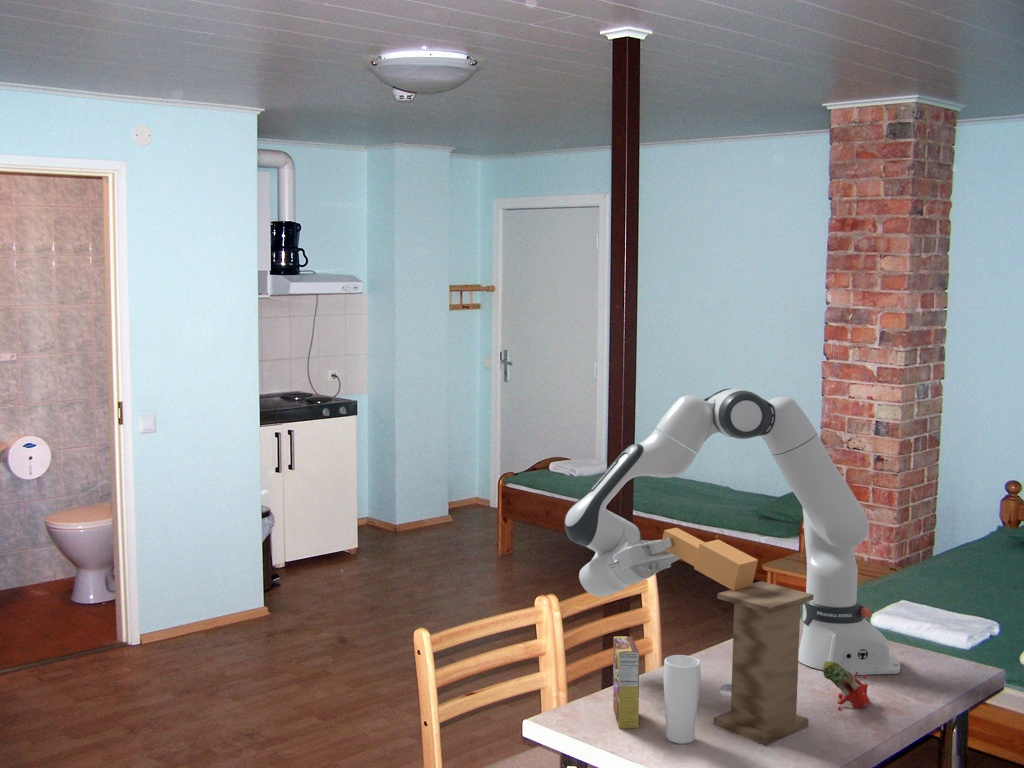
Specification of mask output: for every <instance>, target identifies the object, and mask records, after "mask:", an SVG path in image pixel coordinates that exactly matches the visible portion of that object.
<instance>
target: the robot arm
mask: <svg viewBox="0 0 1024 768" xmlns="http://www.w3.org/2000/svg"><path fill="white" fill-rule="evenodd" d="M718 433H720V434H722V435H724V436H726V437H729V438H730V437H731V438H735V439H740V440H743V439H745V440H746V439H753V438H755V437H760V438H762V440H763V441H764V442H765V444H766V445H767V447H768V449H769V452H770V453H771V455H772V457H773V459H774V460H775V462H776V464H777V467H778V468H779V470H780V472H781V474H782V476H783V478H784V480H785V481H786V483H787V485H788V486H789V488H790V489H791V491H792V492H793V494H794V495H795V497H796V499H797V500H798V502H799V503H800V505H801V506H802V514H803V516H802V517H803V532H804V533H803V534H804V546H805V547H804V548H805V555H806V582H805V586H806V587H805V588H806V589H805V593H809V594H813V595H814V597H813V600H811V601H808V602H805V603H802V623H803V626H802V633H801V639H800V642H799V656H798V662H799V663H801V664H803V665H805V666H808V667H810V668H813V669H816V670H820V671H823V666H824V663H825V662H827V661H830V662H835V663H837V664H839V665H840V666H841V667H842V668H843V669H844V670H847V671H849V672H850V673H851V674H852V675H855V674H856V672H858V674H857V675H856V676H858V675H861V676H864V675H865V676H868V675H896V674H899V673H900V672H901V664H900V662H899V660H898V659H897V658H896V656H894V655H892V654H891V651H890V645H889V642H888V640H887V638H886V636H885V635H884V633H882V632H881V631H880V630H878V628H876V627H875V626H874V625H872V624H871V623H870V622H869V621H867V620H866V619H869V618H870V617H871V616H872V611H871V610H870V609H869V608H868V607H865V605H863V604H862V603H860V602H859V601H858V600H857V599H858V598H857V596H858V595H857V594H858V574H859V573H858V572H859V571H858V564H857V562H856V561H857V560H856V555H855V547H857V546H860V545H861V544H862V543H863V542H864V541H865V540H866V538H867V536H868V534H869V530H870V525H869V520H868V516H867V515H866V512H865V511H864V509H863V508H862V506H861V504H860V503H859V500H858V499H857V498H856V496H855V494H854V493H853V491H852V489H851V488H850V486H849V485H848V483H847V482H846V480H845V479H844V478H845V477H843V476H842V474H841V473H840V471H839V469H838V468H837V467H836V465H835V463H834V462H833V460H832V458H831V457H830V455H829V453H828V451H827V449H826V446H825V445H824V444H823V442H822V440H821V438H820V436H819V434H818V432H817V430H816V429H815V427H814V426H813V423H812V422H811V421H810V419H809V417H808V416H807V414H806V413H805V412H804V411H803V409H802V408H801V406H800V405H799V404H798V403H797V402H796V401H795V400H794V399H793V398H791V397H789V396H777V397H776V396H775V397H774V398H772V399H769V400H766V399H764V398H762V397H761V396H760V395H758V394H756V393H755V392H752V391H748V390H746V389H744V388H737V387H736V388H735V387H734V388H724V389H722V390H719V391H716V392H715V393H714V394H712V395H710V396H708V397H706V398H704V399H703V398H701V397H699V396H697V395H690V394H689V395H683V396H680V397H679V398H678V399H676V401H675V402H674V403H673V404H672V405H671V406H670V408H669V409H668V410H667V411H666V413H665V414H664V415H663V416H662V418H661V419H660V420H659V422H658V423H657V425H656V427H655V428H654V430H653V431H652V433H651V434H649V436H648V437H646V438H645V439H644V440H642V441H641V442H639V443H633V444H630V445H628V446H627V448H625V449H624V450H623V451H622V452H621V453H620V454H619V455H618V456H617V458H615V459H614V461H613V462H612V463H611V464H610V465H609V466H608V467H607V468H606V470H605V471H603V473H602V474H601V476H599V478H597V480H596V481H595V482H594V484H592V486H591V487H590V488H589V489H588V490H587V491H586V493H585V494H583V496H581V498H579V499H578V500H577V501H576V502H575V503H573V504H572V505H571V507H570V508H569V509H568V510H567V513H565V516H564V522H563V523H564V528H565V533H566V535H567V537H568V539H569V540H570V541H571V542H573V543H575V544H578V545H579V546H582V547H585V548H587V549H589V550H591V551H593V552H595V553H594V555H593V557H592V558H591V560H590V561H589V562H588V563H586V564H584V566H582V568H581V569H580V570H579V574H578V579H579V581H580V584H581V586H582V587H583V589H584V591H586V592H587V593H588V594H590V595H592V596H594V597H598V598H602V597H607V596H612V595H614V594H616V593H618V592H621V591H623V590H625V589H626V588H627V587H628V586H633V585H634V586H635V585H637V584H638V583H639V584H640V582H643V581H646V580H647V579H649V578H651V577H653V576H655V575H656V574H657V573H660V572H661V571H664V570H666V569H669V568H670V567H672V565H671V564H673V563H675V562H677V561H679V560H681V559H680V558H678V557H676V556H674V555H673V554H671V553H669V552H667V551H665V549H668V548H671V547H673V546H674V545H675V543H674V540H673V538H667V539H665V540H663V541H662V539H654V540H646V539H642V535H641V531H640V529H639V527H638V526H637V525H636V524H635V523H633V522H631V521H629V520H627V519H625V518H624V517H622V516H620V515H618V514H616V513H614V512H612V511H610V510H608V509H607V508H606V507H607V506H608V504H610V502H611V501H612V500H613V498H614V497H615V496H616V495H617V494H618V493H619V492H620V490H621V489H622V488H623V487H624V485H625V484H626V483H627V482H628V481H630V480H632V479H634V478H637V477H652V478H653V477H654V478H661V479H663V478H666V479H667V478H673V477H678V476H681V475H682V474H683V473H685V472H686V471H687V470H688V469H689V467H690V466H691V465H692V463H693V462H694V460H695V458H696V457H697V455H698V454H699V451H700V450H701V449H702V447H703V445H704V443H705V442H706V441H707V440H708V439H709V438H710V437H711V436H713V435H714V434H718Z"/></svg>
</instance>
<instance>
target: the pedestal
mask: <svg viewBox="0 0 1024 768" xmlns="http://www.w3.org/2000/svg"><path fill="white" fill-rule="evenodd" d="M813 597H814V595H813V594H809V593H806V591H801V590H797V589H793V588H790V587H785V586H782V585H779V584H773V583H771V582H766V581H762V580H761V581H757V582H753V584H752V586H748V587H745V588H741V589H737V590H734V591H733V590H731V589H728V590H725V591H721V592H718V593H717V597H716V599H718V600H722V601H724V602H725V601H726V602H729V603H732V604H733V629H732V632H733V633H732V634H733V635H732V638H733V639H732V661H731V663H732V664H731V668H732V669H731V689H730V690H731V693H730V694H731V695H730V710H729V711H726V712H723V713H721V714H719V715H717V716H715V717H713V722H712V723H713V726H714V725H715V727H717V726H718V727H717V728H719V727H720V728H719V729H722V728H723V729H722V730H724V729H725V730H724V731H727V732H729V731H730V733H733V734H734V733H735V735H737V736H739V735H740V736H739V737H742V738H744V739H746V740H749V741H751V742H755V743H757V744H759V745H762V746H765V747H767V746H769V745H771V744H773V743H776V742H778V741H779V740H782V739H785V738H787V737H789V736H790V735H793V734H795V733H798V732H799V731H801V730H804V729H806V728H808V727H809V723H810V722H809V721H810V719H809V718H807V717H805V716H802V715H799V714H797V707H798V706H797V704H798V682H799V678H798V677H799V661H798V656H799V646H800V629H801V628H800V626H801V625H800V622H801V605H803V604H804V603H805V602H808V601H811V600H813Z"/></svg>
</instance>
